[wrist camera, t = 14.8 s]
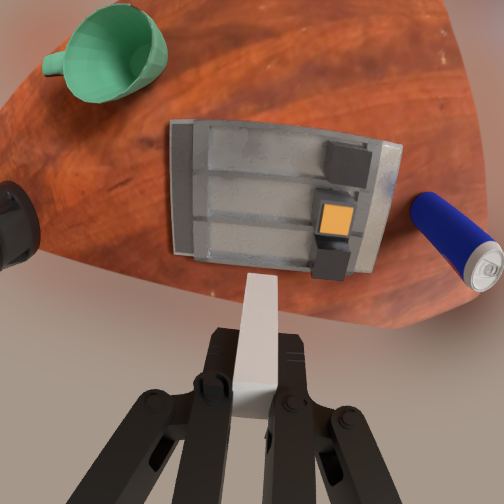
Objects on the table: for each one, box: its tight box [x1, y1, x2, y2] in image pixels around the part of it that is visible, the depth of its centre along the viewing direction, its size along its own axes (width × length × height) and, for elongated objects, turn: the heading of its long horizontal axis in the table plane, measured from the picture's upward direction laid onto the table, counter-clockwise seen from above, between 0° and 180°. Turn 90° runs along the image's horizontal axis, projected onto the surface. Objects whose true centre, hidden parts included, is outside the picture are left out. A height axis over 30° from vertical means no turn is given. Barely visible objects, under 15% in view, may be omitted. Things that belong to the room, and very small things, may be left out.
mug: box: [42, 3, 168, 104], centre depth 21 cm, size 15×10×10 cm
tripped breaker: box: [311, 188, 357, 238], centre depth 30 cm, size 4×4×4 cm
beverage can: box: [410, 192, 504, 292], centre depth 25 cm, size 5×5×15 cm
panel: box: [170, 119, 403, 281], centre depth 31 cm, size 26×17×6 cm, turn 86°
